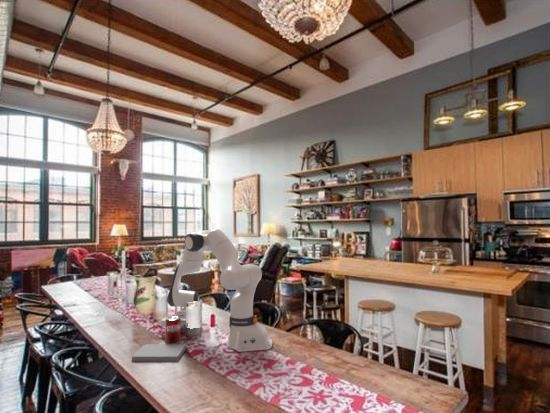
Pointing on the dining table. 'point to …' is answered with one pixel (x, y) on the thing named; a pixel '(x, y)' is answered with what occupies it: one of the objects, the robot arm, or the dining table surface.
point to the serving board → (159, 352)
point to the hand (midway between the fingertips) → (176, 326)
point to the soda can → (172, 330)
